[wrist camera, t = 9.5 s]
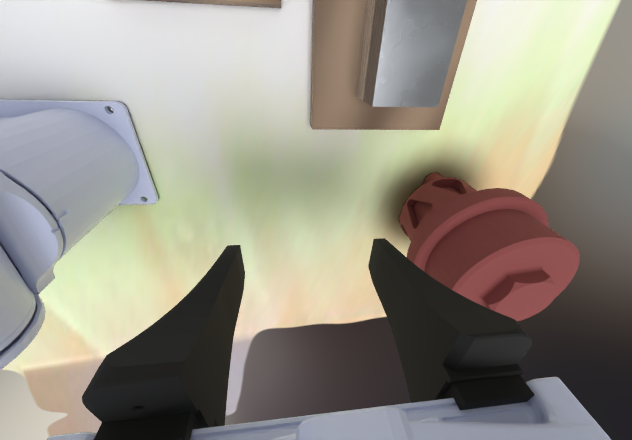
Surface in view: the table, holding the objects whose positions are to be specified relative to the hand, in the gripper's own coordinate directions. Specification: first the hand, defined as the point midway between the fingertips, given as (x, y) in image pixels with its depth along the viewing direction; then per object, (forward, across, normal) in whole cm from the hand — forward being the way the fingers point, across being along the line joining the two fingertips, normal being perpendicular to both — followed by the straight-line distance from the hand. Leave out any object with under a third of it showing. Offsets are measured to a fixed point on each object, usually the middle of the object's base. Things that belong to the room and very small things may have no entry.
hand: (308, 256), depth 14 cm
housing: (+9, -6, -10) cm, 15 cm away
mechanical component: (+11, -13, +3) cm, 17 cm away
